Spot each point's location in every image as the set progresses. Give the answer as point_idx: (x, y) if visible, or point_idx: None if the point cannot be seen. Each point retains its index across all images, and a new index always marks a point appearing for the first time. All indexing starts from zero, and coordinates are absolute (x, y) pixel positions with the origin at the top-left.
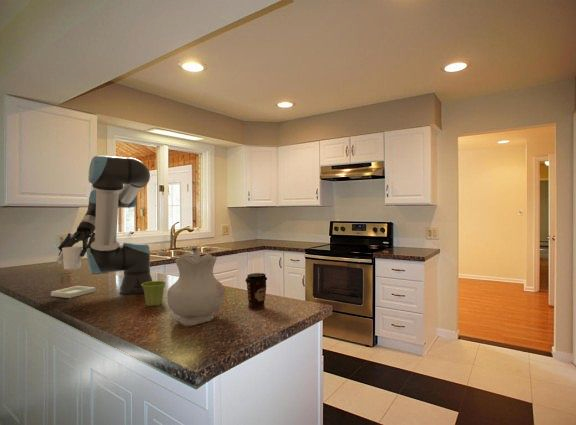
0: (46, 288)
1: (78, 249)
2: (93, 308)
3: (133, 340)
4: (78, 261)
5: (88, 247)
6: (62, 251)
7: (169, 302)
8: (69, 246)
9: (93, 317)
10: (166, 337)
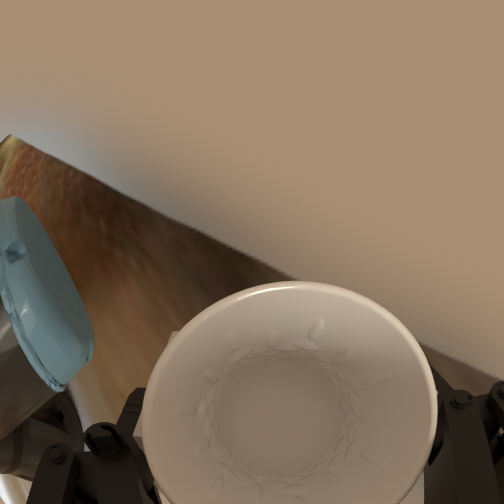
0: None
1: (159, 395)
2: (84, 231)
3: (30, 147)
4: None
5: (55, 444)
6: (363, 325)
7: None
8: (435, 497)
9: (71, 186)
10: (7, 161)
